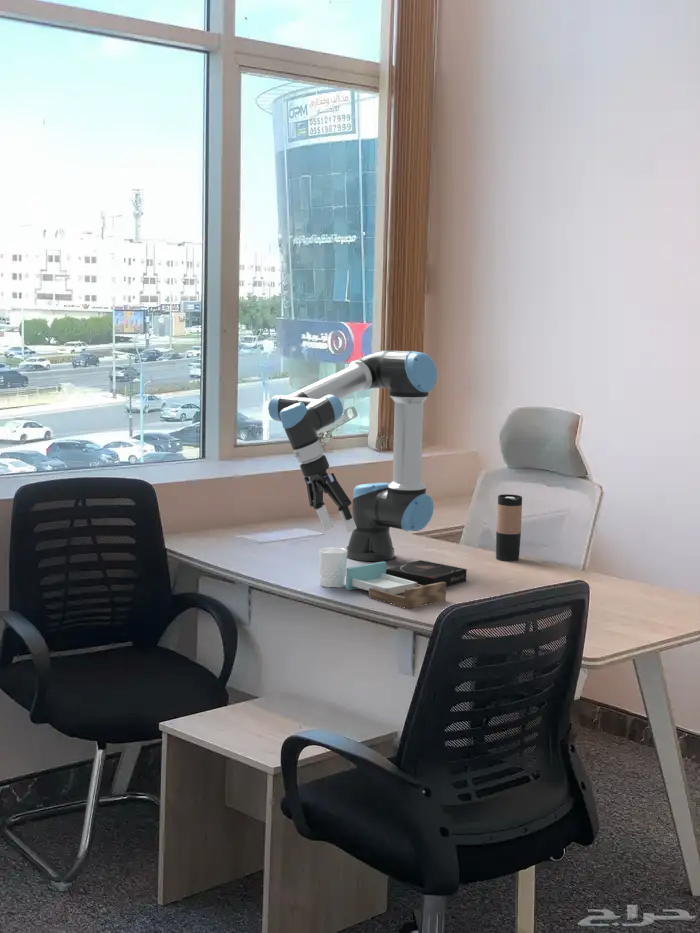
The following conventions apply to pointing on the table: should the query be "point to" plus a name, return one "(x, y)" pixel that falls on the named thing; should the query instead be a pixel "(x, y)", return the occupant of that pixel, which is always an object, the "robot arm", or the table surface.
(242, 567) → the table surface
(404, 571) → the portable cd player
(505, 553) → the travel mug
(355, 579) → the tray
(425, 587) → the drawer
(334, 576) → the white cup
